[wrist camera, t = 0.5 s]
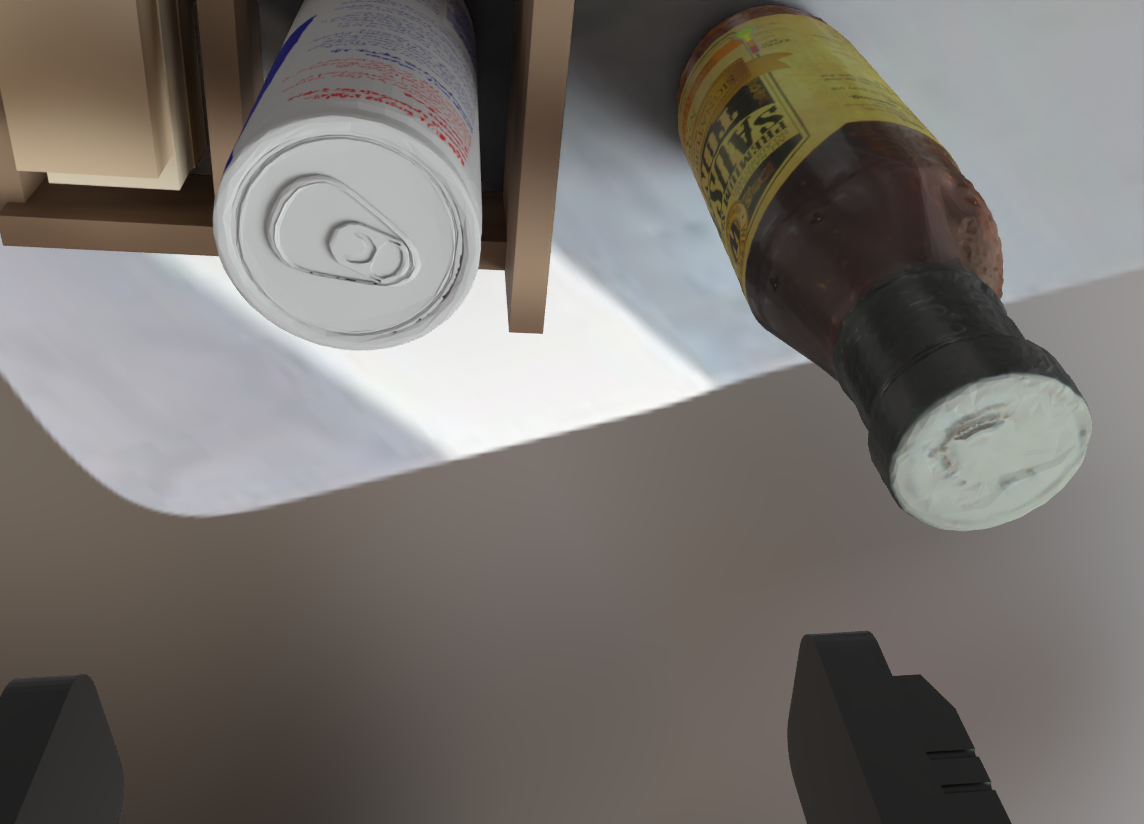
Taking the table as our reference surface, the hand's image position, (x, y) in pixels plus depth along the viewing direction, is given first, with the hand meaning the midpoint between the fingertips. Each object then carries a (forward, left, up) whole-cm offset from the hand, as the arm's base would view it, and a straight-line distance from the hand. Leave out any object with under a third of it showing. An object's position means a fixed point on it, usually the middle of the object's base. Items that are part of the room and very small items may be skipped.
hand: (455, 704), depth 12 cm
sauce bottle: (+1, +10, -28) cm, 29 cm away
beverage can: (0, -2, -28) cm, 28 cm away
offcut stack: (0, -10, -27) cm, 29 cm away
